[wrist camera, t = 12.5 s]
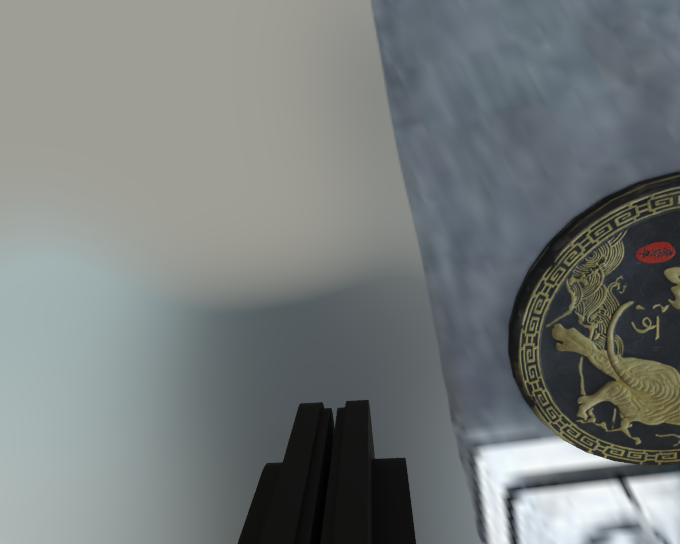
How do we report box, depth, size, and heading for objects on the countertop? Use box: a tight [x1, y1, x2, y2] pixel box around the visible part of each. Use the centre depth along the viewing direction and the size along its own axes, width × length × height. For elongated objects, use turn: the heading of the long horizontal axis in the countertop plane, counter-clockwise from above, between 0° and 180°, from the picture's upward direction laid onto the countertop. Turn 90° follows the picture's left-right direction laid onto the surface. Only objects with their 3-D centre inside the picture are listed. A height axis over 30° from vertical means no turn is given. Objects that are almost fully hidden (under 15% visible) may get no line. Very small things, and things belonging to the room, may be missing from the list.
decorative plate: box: [509, 173, 680, 465], centre depth 37 cm, size 30×2×30 cm
